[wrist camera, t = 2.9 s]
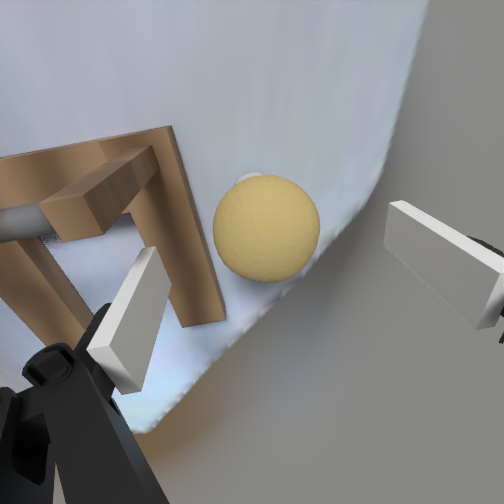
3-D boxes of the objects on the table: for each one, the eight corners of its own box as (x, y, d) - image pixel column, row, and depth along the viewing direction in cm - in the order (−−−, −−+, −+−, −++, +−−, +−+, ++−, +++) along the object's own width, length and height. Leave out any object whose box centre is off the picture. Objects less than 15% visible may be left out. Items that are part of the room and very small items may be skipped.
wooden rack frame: (62, 337, 28) (-29, 477, 18) (-78, 172, 18) (-461, 272, 8) (225, 305, 28) (227, 427, 18) (171, 125, 18) (109, 165, 8)
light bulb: (224, 142, 19) (228, 180, 11) (301, 164, 21) (358, 214, 12) (208, 218, 22) (200, 294, 14) (276, 233, 24) (307, 310, 15)
